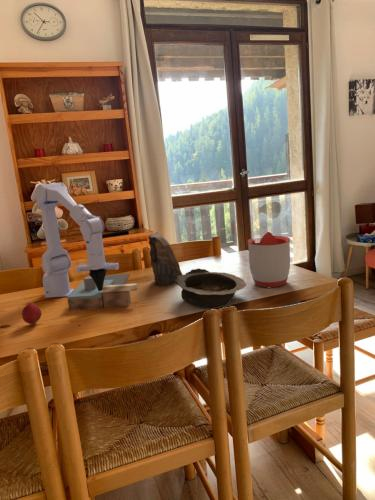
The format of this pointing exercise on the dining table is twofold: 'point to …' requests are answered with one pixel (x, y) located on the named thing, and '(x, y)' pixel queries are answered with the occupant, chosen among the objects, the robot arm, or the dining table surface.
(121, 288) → the beige rectangular bar
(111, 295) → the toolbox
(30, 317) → the onion
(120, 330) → the dining table surface
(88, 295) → the lid
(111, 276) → the mat
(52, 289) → the robot arm
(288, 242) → the citrus juicer
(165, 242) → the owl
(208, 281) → the stone bowl
